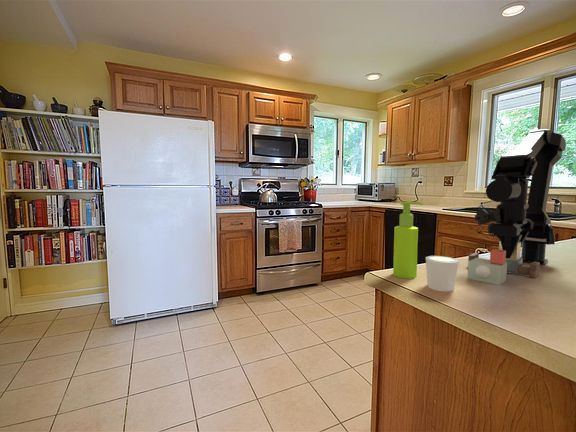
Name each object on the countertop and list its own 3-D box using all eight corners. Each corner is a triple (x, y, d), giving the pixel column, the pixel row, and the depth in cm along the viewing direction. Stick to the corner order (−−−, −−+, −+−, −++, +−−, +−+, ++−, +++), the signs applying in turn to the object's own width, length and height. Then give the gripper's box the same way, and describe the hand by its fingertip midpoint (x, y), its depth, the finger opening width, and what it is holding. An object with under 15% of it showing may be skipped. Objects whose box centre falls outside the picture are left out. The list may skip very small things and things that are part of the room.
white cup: (430, 280, 73) (431, 253, 73) (461, 287, 68) (462, 258, 68) (420, 287, 68) (421, 258, 68) (452, 294, 64) (453, 263, 63)
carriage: (494, 270, 81) (496, 241, 80) (500, 266, 84) (502, 239, 83) (517, 274, 77) (519, 244, 76) (522, 270, 80) (524, 241, 79)
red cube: (492, 260, 74) (493, 249, 74) (505, 262, 72) (506, 250, 72) (489, 262, 72) (490, 250, 72) (502, 264, 70) (503, 252, 70)
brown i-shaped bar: (468, 266, 86) (468, 255, 86) (473, 263, 89) (474, 252, 89) (535, 278, 74) (536, 265, 74) (538, 274, 77) (539, 262, 77)
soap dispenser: (423, 279, 74) (425, 202, 73) (395, 277, 76) (397, 202, 74) (417, 272, 80) (420, 201, 78) (391, 271, 82) (393, 201, 80)
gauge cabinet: (475, 273, 79) (476, 257, 78) (506, 279, 73) (507, 262, 73) (467, 278, 75) (468, 261, 74) (498, 285, 69) (499, 266, 69)
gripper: (489, 198, 90) (487, 247, 92) (467, 201, 79) (464, 257, 80) (535, 199, 82) (531, 253, 83) (518, 202, 70) (514, 265, 72)
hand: (509, 256), depth 80 cm, fingers closed on carriage, 4 cm apart
